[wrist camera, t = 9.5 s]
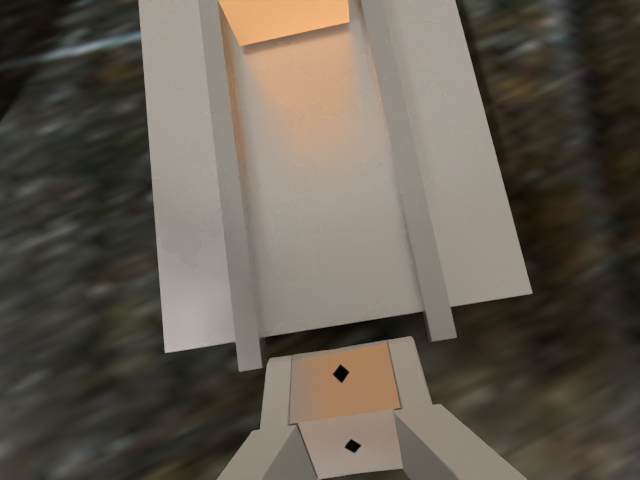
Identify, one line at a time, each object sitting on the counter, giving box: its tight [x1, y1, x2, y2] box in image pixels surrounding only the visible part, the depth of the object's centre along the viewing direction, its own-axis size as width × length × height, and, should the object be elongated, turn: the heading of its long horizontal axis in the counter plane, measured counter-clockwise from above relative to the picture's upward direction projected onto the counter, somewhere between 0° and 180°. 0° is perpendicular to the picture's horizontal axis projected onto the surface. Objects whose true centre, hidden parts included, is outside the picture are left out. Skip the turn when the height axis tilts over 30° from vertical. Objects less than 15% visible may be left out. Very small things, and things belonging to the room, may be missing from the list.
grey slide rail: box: [139, 0, 533, 372], centre depth 15 cm, size 22×13×6 cm, turn 9°
